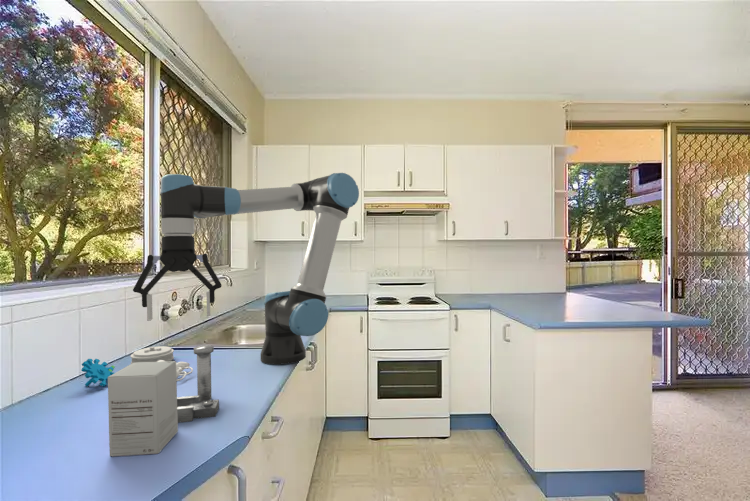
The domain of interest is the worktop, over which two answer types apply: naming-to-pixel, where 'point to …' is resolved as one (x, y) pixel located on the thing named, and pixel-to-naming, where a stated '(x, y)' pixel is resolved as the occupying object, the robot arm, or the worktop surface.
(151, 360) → the lid
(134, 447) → the supplement box
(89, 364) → the gear
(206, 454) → the worktop surface
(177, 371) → the tangled rod sculpture
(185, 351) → the worktop surface
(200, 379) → the pin
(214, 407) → the bolted rod clamp
